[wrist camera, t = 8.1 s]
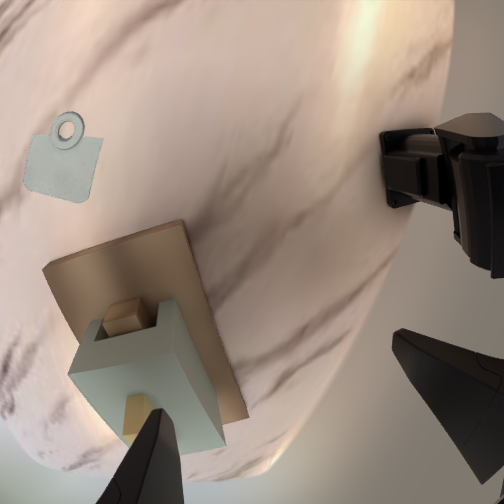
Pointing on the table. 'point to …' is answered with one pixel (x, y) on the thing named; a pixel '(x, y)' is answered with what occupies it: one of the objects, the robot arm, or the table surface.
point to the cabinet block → (149, 380)
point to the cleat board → (145, 297)
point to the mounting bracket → (62, 162)
